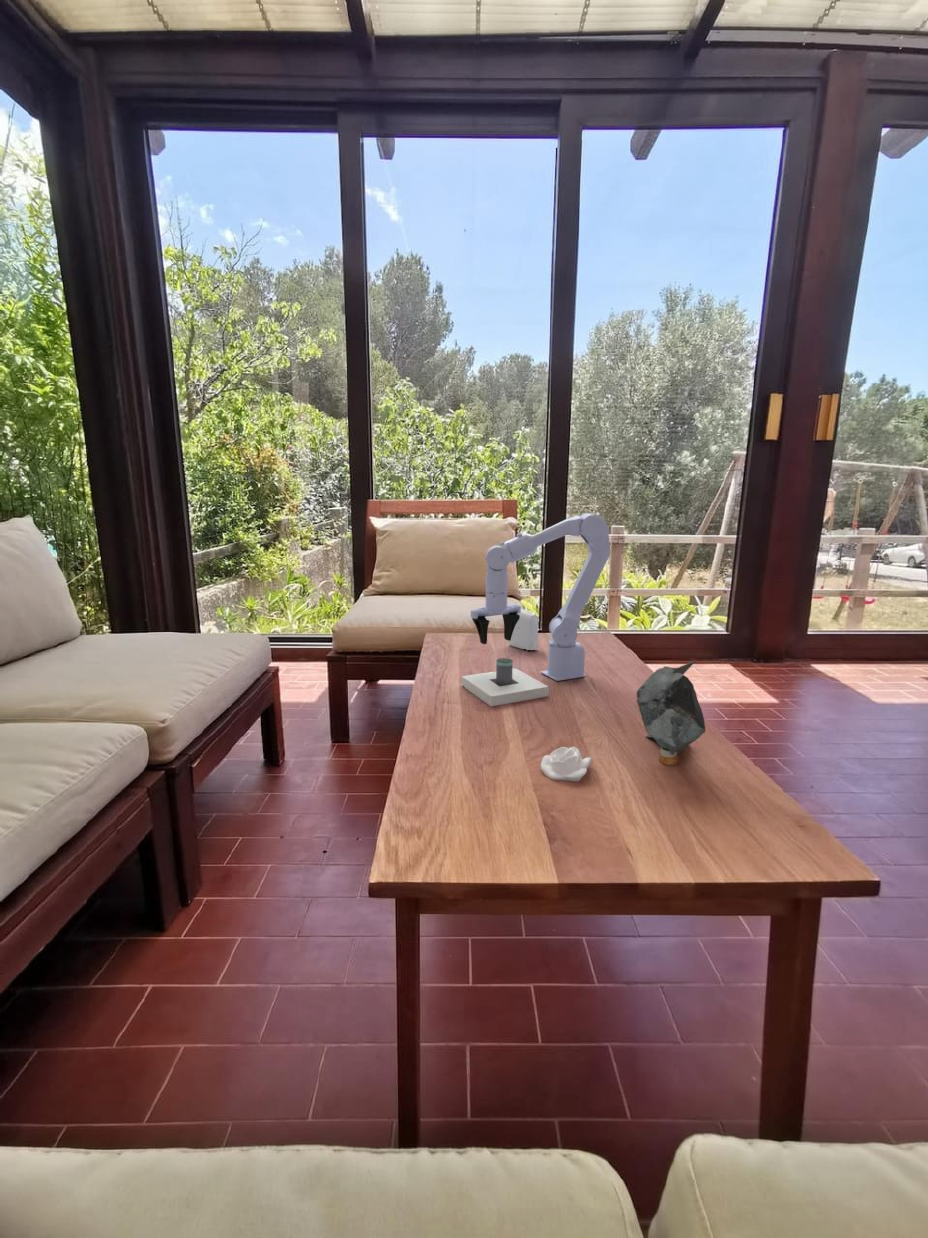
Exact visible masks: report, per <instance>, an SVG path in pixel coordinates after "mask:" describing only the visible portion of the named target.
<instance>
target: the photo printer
mask: <svg viewBox="0 0 928 1238" xmlns="http://www.w3.org/2000/svg"><path fill="white" fill-rule="evenodd" d="M517 614H518V615H520V619H519V620H518V622H517V623H516V625H515V628H514V630H513V633H512V637H511V640H510V641H508V643H509V646H510V647H511V646H512V647H514V648H518V649H521V650H524V649H526V650H525V651H528V650H535V651H537V650H538V645H539V640H538V638H539V617H538V615H537V614H536V613H534V612H533V611H530V610H529V609H525V608H521V613H517Z"/></svg>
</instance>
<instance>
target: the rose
mask: <svg viewBox="0 0 928 1238" xmlns="http://www.w3.org/2000/svg"><path fill="white" fill-rule="evenodd" d="M592 761H593V758H592V757H589V756H588V757H585V758H583V757H582V754H581V752H580V750H579V748H577V747H575V746H571V747H569V748H568V747H565V746H560V747H559V748H556V749H554V750H553V751H552V752H551V753H550V754H546V755H544V756H543V757H542V759H541V762H540V769H541V771H542V773H543V774H544V775H545V776H546V777H547V778H549V779H551V780H552V781H553V780H554V781H566V782H567V781H570V782H580V781H581V779H582V778H583V777H584V776H585V775H586V773H587V772H588V768H589V766H590V765H591V762H592Z"/></svg>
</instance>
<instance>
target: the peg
mask: <svg viewBox="0 0 928 1238" xmlns="http://www.w3.org/2000/svg"><path fill="white" fill-rule="evenodd" d="M513 662H514V661H513V659H511V658H507V657H503V658H502V657H501V658H498V659H496V670H495V671H496V684H497V685H498V686H505V685H512V669H513V668H514V667H513Z"/></svg>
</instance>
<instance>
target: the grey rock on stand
mask: <svg viewBox="0 0 928 1238" xmlns="http://www.w3.org/2000/svg"><path fill="white" fill-rule="evenodd" d="M697 660H698V659H695V660H693V661H690V662H688V663H686V664H684V665H680V666H679V667H671V666H663V667H661V668H658V669H656V670H655V671H654V672H653V673H652V674H650V676H648V677H647V679H646V680H645V681H644V683H643V684H641V686H640V687H639V688H638V689H637V691H636V698H637V699H636V703H637V705H638V709H639V713H640V715H641V719H642V722H643V726H644V729H645V731H646V733H647V735H646V736H645V738H648V739H650V740H654V741H655V742H656V743H657V744H658V745H659V746H660V752H659V757H658V760H659V762H660V763H661V764H663V765H667V766H677V765H678V764H679V754H680V753H681V752H682V751H684V749H685V748H687V747H688V746H690V745H691V744H692V743H694V742H695V741H696V740H698V739H700V738H701V736H702V735H703V734H705V733H706V724H705V718H704V717H705V716H704V714H703V710H702V707H701V705H700V702H699V700H698V696H697V692H696V690H695V688H694V684H693V682H692V681H691V680H690V679H689V677H688V676H686V675H685V673H686V672H687V671H688V670H689V669H690V668H691V667H692V666H693V665H694V664H695V663H696V662H697Z"/></svg>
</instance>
